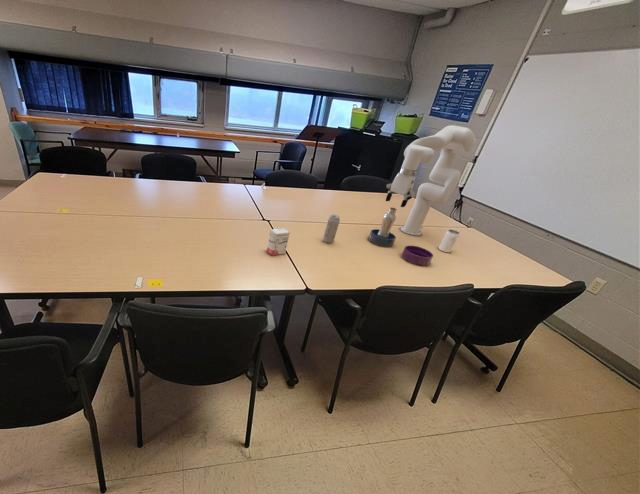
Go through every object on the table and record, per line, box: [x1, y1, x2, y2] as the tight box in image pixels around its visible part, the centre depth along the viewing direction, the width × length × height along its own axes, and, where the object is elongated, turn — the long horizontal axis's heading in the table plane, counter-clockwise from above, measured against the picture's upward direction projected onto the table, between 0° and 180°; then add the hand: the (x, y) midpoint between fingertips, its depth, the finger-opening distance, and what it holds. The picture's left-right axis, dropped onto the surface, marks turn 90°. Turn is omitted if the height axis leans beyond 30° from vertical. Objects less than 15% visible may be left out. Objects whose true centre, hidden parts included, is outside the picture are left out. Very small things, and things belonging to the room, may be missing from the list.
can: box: [438, 229, 460, 253], centre depth 185 cm, size 6×6×12 cm
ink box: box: [266, 227, 290, 256], centre depth 156 cm, size 9×5×12 cm, turn 117°
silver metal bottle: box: [376, 207, 398, 239], centre depth 181 cm, size 6×7×20 cm
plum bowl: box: [401, 245, 434, 266], centre depth 170 cm, size 14×14×5 cm
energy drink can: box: [322, 214, 341, 244], centre depth 174 cm, size 6×6×15 cm
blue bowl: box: [367, 228, 397, 248], centre depth 186 cm, size 14×14×5 cm
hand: (394, 203), depth 174 cm, fingers open, 9 cm apart
